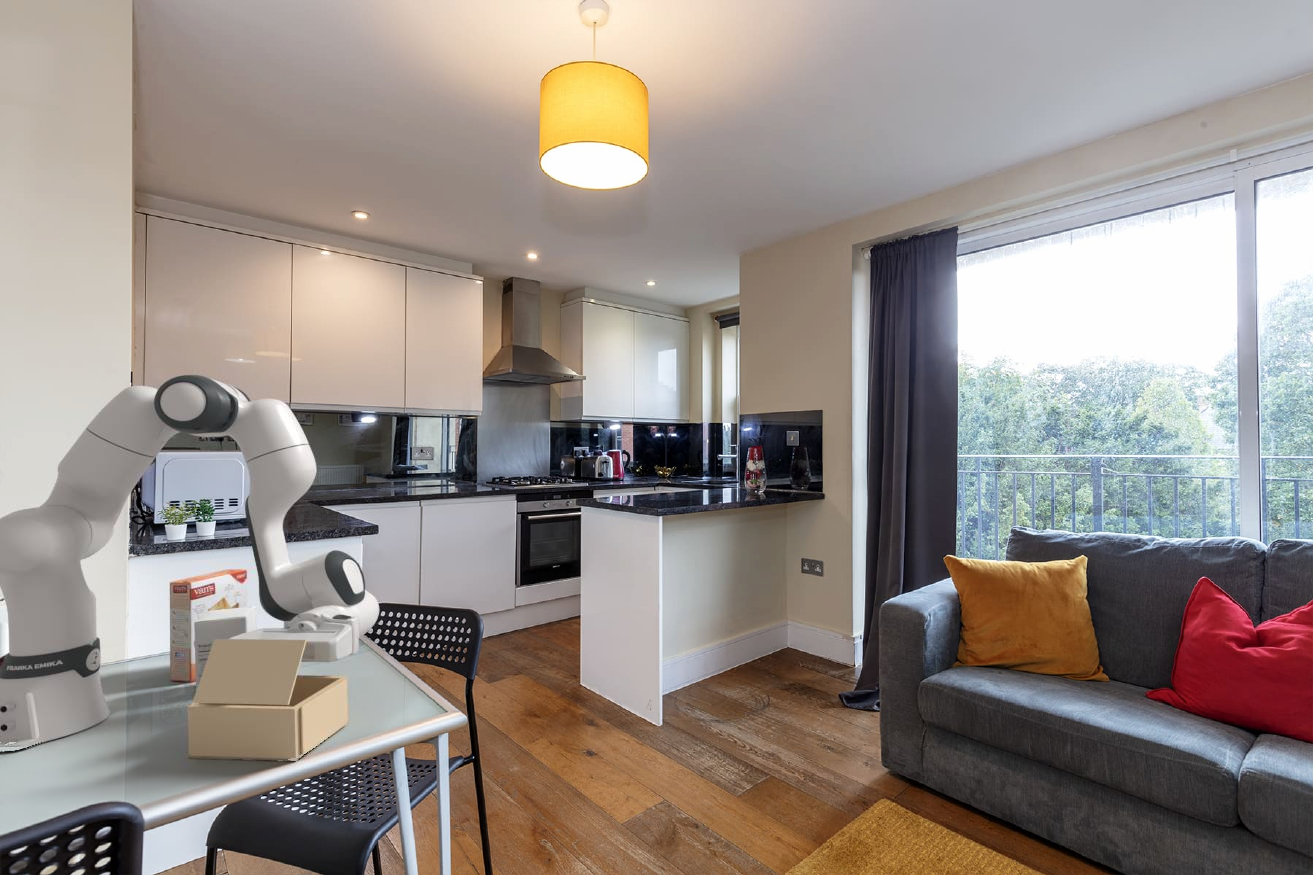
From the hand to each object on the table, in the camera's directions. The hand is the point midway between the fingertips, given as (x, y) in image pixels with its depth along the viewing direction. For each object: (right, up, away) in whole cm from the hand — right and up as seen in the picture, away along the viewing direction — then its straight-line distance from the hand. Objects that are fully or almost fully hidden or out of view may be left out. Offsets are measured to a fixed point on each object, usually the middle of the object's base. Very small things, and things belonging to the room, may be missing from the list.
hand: (256, 661), depth 98 cm
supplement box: (-23, -15, +27) cm, 39 cm away
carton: (+1, -14, +3) cm, 14 cm away
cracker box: (-34, -16, +37) cm, 53 cm away
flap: (0, -6, -4) cm, 7 cm away
